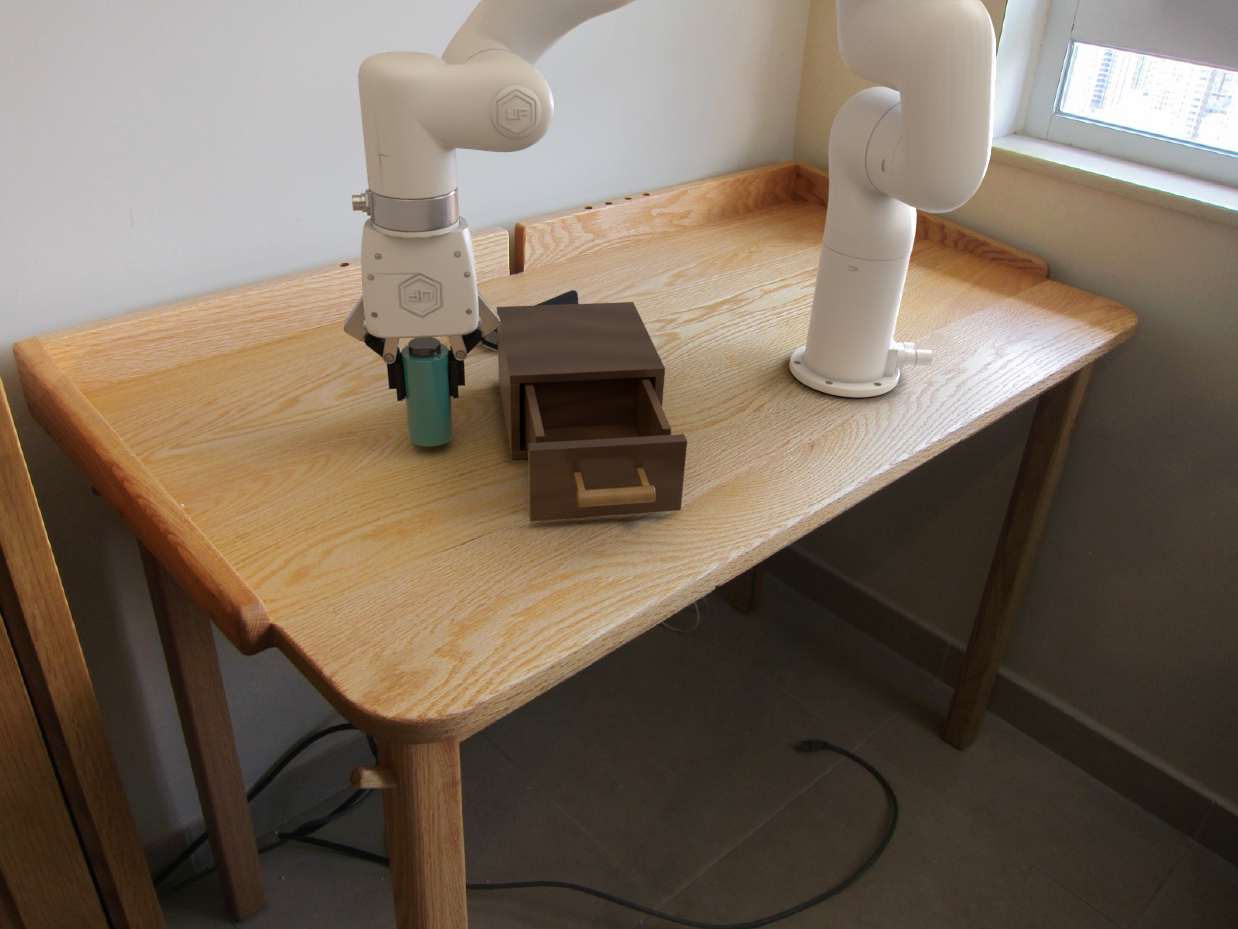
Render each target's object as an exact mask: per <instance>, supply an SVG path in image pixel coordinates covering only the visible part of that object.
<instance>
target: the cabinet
mask: <svg viewBox="0 0 1238 929" xmlns="http://www.w3.org/2000/svg"><path fill="white" fill-rule="evenodd" d="M534 305H535V306H534ZM534 305H514V306H511V305H510V306H509V305H507V306H496V313H497V314H498V315H499V317H500V323H501V324H500V326H499V328H497V334H498V350H497V357H498V358H497V363H498V364H497V365H498V366H497V367H498V368H497V369H498V386H499V392H500V399H501V405H502V411H503V418H504V422H505V428H506V434H507V440H508V446H509V447H508V448H509V453H510V458H511V460H526V459H527V460H528V456H527V451H526V446H525V441H524V436H523V403H522V383H540V382H561V381H581V380H602V379H622V378H643V377H649V379H650V382H651V384H652V386H653V389H654V391H655V393H656V395H657V398H658V400H659V402H660V404H661V407H662V408H663V400H664V387H665V376H666V375H665V374H666V367H665V365H664V363H663V361H662V359H661V357H660V355H659V353H658V350H657V348H656V346H655V344H654V342H653V340H652V338H651V336H650V334H649V332H648V330H647V328H646V326H645V323H644V322H643V320H642V317H641V315H640V313H639V311H638V308H637V306H636V305H635V302H633V301H627V302H626V301H623V302H599V303H598V302H597V303H594V302H592V303H578V304H564V305H537V304H534Z"/></svg>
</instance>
